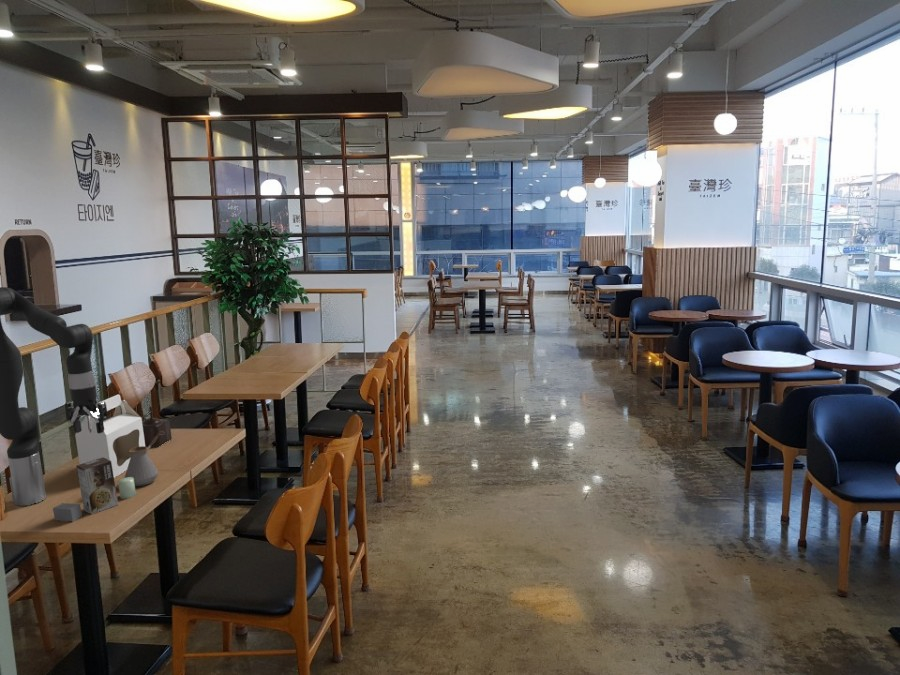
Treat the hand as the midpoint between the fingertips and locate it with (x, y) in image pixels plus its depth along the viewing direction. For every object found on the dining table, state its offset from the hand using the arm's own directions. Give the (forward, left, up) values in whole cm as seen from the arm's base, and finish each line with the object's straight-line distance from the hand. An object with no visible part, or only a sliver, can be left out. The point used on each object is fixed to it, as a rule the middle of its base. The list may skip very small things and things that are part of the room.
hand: (89, 432), depth 229 cm
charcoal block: (-5, -9, -27) cm, 29 cm away
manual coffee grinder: (-24, +60, -27) cm, 70 cm away
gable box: (-21, +34, -27) cm, 48 cm away
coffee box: (0, 0, -27) cm, 27 cm away
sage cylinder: (+3, +10, -27) cm, 29 cm away
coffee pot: (0, +27, -27) cm, 38 cm away
